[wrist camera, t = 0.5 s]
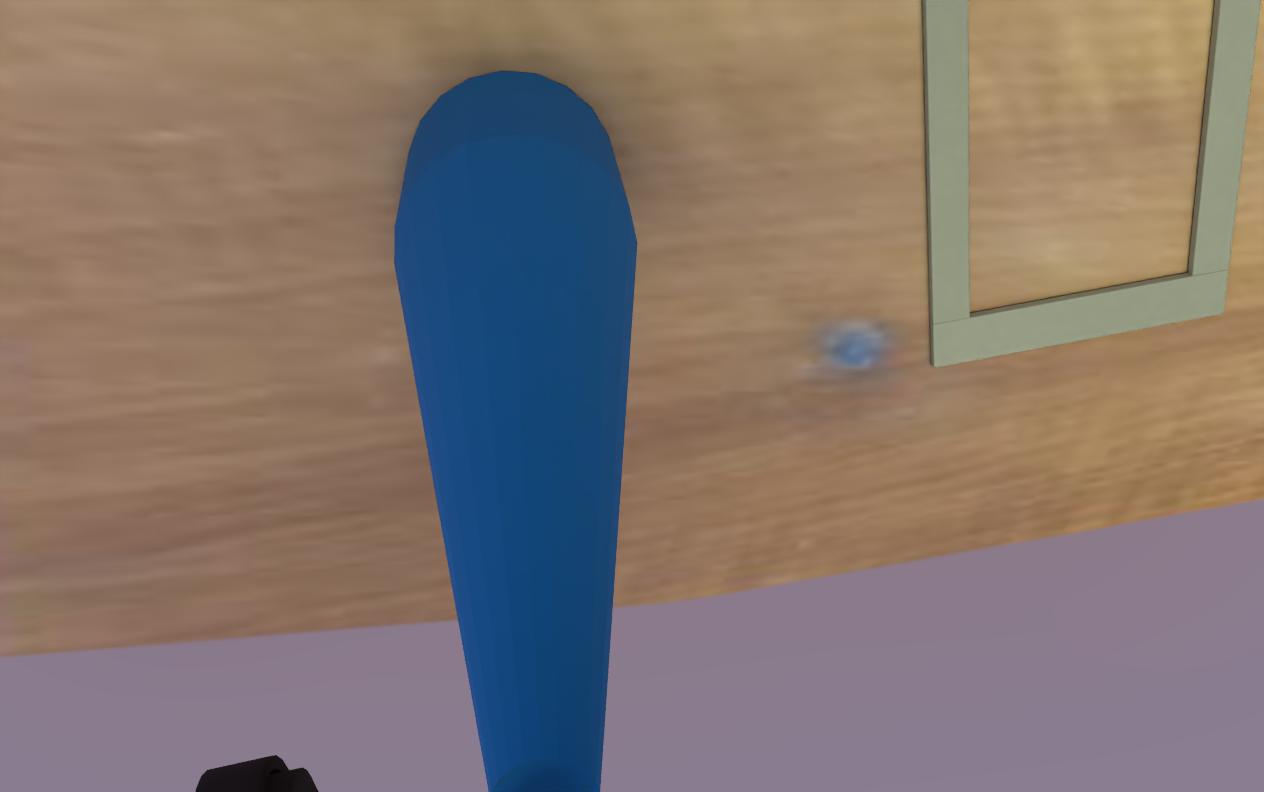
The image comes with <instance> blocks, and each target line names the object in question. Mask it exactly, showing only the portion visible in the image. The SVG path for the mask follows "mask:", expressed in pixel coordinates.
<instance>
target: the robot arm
mask: <svg viewBox="0 0 1264 792" xmlns="http://www.w3.org/2000/svg"><path fill="white" fill-rule="evenodd" d="M196 792H318V790H317V788H316V786H315V784H314V782H313V780H312V777H311V776H310V774H309V773H308V771H307V770H306V769H304V768H299V769H293V770H289V769H288V768H287V766H286V765H285V763H284V762H283V760H282V759H281V758H279V757H278V756H277V755H275V756H269V757H264V758H260V759H256V760H251V761H246V762H242V763H237V764H233V765H228V766H223V767H219V768H215V769H210V770H207V771H206V772H205V773H204V774H203V775H202V776H201V778H200V781H199V783H198V786H197V788H196Z"/></svg>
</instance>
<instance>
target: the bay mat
mask: <svg viewBox="0 0 1264 792" xmlns="http://www.w3.org/2000/svg"><path fill="white" fill-rule="evenodd" d="M922 2H923V44H924V86H925V128H926V170H927V212H928V254H929V296H930V338H931V364H932V365H933V367H934V368H936V367H941V366H947V365H952V364H957V363H963V362H968V361H973V360H979V359H984V358H989V357H995V356H1000V355H1006V354H1011V353H1016V352H1022V351H1027V350H1032V349H1038V348H1043V347H1048V346H1054V345H1059V344H1064V343H1070V342H1075V341H1080V340H1086V339H1091V338H1096V337H1102V336H1107V335H1112V334H1118V333H1123V332H1128V331H1134V330H1139V329H1144V328H1150V327H1155V326H1160V325H1166V324H1171V323H1176V322H1182V321H1187V320H1193V319H1198V318H1203V317H1209V316H1214V315H1219V314H1223V313H1224V305H1225V296H1226V288H1227V280H1228V271H1229V270H1228V269H1229V263H1230V255H1231V246H1232V238H1233V230H1234V221H1235V213H1236V205H1237V196H1238V188H1239V180H1240V171H1241V163H1242V155H1243V146H1244V138H1245V130H1246V121H1247V113H1248V105H1249V96H1250V88H1251V80H1252V71H1253V63H1254V55H1255V46H1256V38H1257V30H1258V21H1259V13H1260V5H1261V0H1215V6H1214V16H1213V26H1212V36H1211V46H1210V55H1209V65H1208V75H1207V85H1206V95H1205V105H1204V115H1203V125H1202V135H1201V145H1200V155H1199V165H1198V175H1197V185H1196V195H1195V205H1194V215H1193V225H1192V235H1191V245H1190V255H1189V265H1188V273H1183V274H1178V275H1173V276H1167V277H1162V278H1157V279H1151V280H1146V281H1140V282H1135V283H1130V284H1124V285H1119V286H1114V287H1108V288H1103V289H1098V290H1092V291H1087V292H1081V293H1076V294H1071V295H1065V296H1060V297H1055V298H1049V299H1044V300H1039V301H1033V302H1028V303H1022V304H1017V305H1012V306H1006V307H1001V308H996V309H990V310H985V311H980V312H974V313H970V268H969V37H968V0H922Z"/></svg>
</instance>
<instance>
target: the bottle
mask: <svg viewBox="0 0 1264 792" xmlns="http://www.w3.org/2000/svg"><path fill="white" fill-rule="evenodd" d="M636 254H637V240H636V235H635V230H634V226H633V221H632V217H631V212H630V208H629V204H628V201H627V197H626V194H625V190H624V187H623V184H622V180H621V177H620V173H619V170H618V167H617V163H616V160H615V156H614V153H613V149H612V146H611V143H610V139H609V136H608V134H607V132H606V131H605V129H604V127H603V126H602V124H601V122H600V121H599V119H598V117H597V116H596V114H595V112H594V111H593V109H592V108H591V107H590V106H589V105H588V104H587V103H585V102H584V101H583V100H582V99H581V98H580V97H578V96H577V95H576V94H575V93H574V92H573V91H572V90H570V89H569V88H568V87H567V86H564V85H562V84H560V83H557V82H555V81H553V80H550V79H548V78H545V77H543V76H541V75H538V74H535V73H524V72H512V71H499V72H494V73H490V74H486V75H481V76H477V77H473V78H469V79H467V80H466V81H464V82H463V83H461V84H459V85H458V86H456V87H454V88H453V89H451V90H450V91H448V92H446V93H445V94H443V95H441V96H440V98H439V99H438V100H437V101H436V102H435V104H434V105H433V106H432V107H431V108H430V110H429V111H428V112H427V113H426V115H425V116H424V117H423V118H422V119H421V121H420V123H419V126H418V128H417V131H416V134H415V136H414V139H413V142H412V145H411V147H410V150H409V154H408V160H407V165H406V171H405V176H404V181H403V187H402V192H401V197H400V203H399V208H398V213H397V219H396V224H395V256H394V264H395V269H396V275H397V280H398V286H399V292H400V297H401V303H402V308H403V314H404V320H405V325H406V331H407V336H408V342H409V348H410V353H411V359H412V364H413V370H414V376H415V381H416V387H417V392H418V398H419V404H420V409H421V415H422V420H423V426H424V432H425V437H426V443H427V448H428V454H429V459H430V465H431V471H432V476H433V482H434V487H435V493H436V499H437V504H438V510H439V515H440V521H441V527H442V532H443V538H444V543H445V549H446V555H447V560H448V566H449V571H450V577H451V583H452V588H453V594H454V599H455V605H456V611H457V616H458V622H459V627H460V633H461V639H462V644H463V650H464V655H465V661H466V666H467V672H468V678H469V683H470V688H471V695H472V700H473V705H474V711H475V717H476V722H477V728H478V734H479V739H480V745H481V750H482V755H483V762H484V767H485V773H486V779H487V784H488V790H489V792H600V783H601V770H602V754H603V739H604V726H605V711H606V696H607V681H608V666H609V652H610V637H611V622H612V608H613V593H614V578H615V563H616V549H617V534H618V519H619V504H620V490H621V475H622V460H623V446H624V431H625V416H626V401H627V387H628V372H629V357H630V342H631V328H632V313H633V298H634V283H635V269H636Z"/></svg>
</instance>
